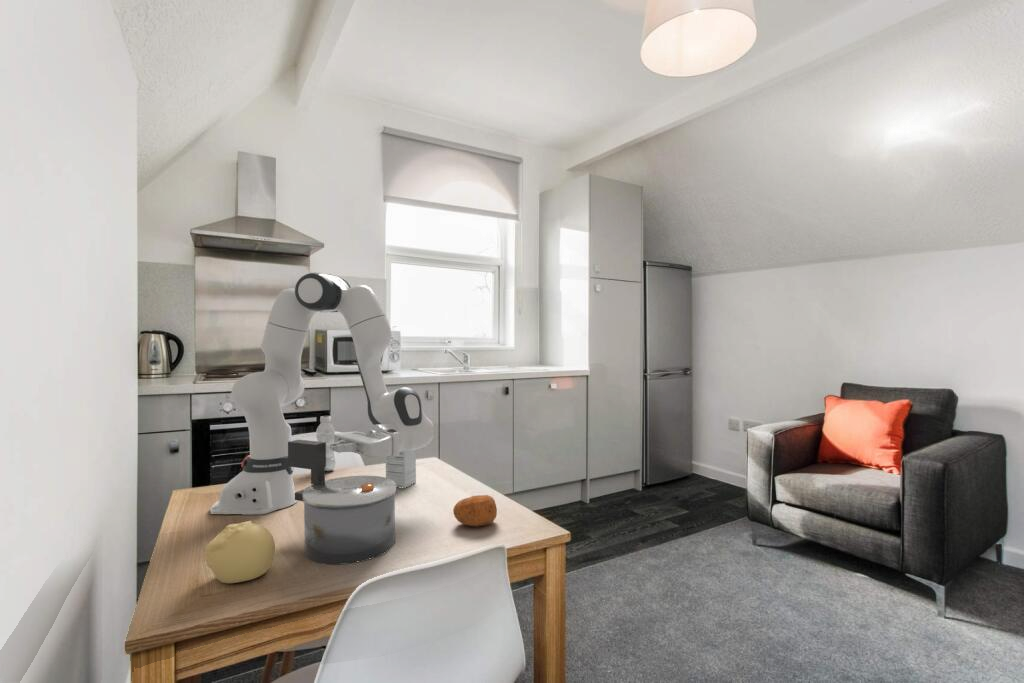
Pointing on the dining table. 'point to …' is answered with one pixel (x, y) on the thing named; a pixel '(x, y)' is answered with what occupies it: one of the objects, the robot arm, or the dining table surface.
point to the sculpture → (240, 552)
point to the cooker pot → (348, 531)
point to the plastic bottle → (327, 440)
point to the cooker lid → (335, 480)
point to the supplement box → (402, 468)
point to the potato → (476, 510)
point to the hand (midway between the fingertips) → (333, 448)
